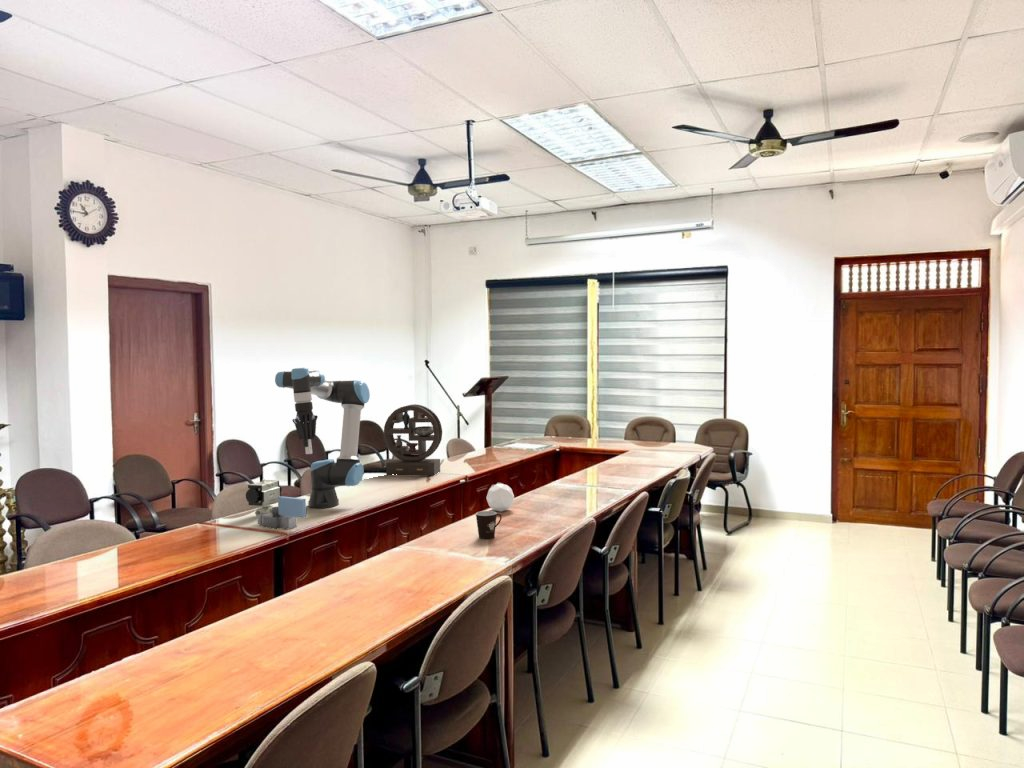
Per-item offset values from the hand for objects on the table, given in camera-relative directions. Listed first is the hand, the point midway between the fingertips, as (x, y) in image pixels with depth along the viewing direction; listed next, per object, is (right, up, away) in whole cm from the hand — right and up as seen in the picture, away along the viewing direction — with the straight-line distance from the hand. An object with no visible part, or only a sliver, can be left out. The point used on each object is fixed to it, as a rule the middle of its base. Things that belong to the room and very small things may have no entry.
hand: (309, 453), depth 305 cm
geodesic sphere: (+86, -30, +22) cm, 94 cm away
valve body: (-14, -32, -1) cm, 35 cm away
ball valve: (-27, -32, +19) cm, 46 cm away
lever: (-7, -27, -5) cm, 29 cm away
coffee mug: (+83, -32, -27) cm, 93 cm away
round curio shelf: (+28, -27, +135) cm, 140 cm away
